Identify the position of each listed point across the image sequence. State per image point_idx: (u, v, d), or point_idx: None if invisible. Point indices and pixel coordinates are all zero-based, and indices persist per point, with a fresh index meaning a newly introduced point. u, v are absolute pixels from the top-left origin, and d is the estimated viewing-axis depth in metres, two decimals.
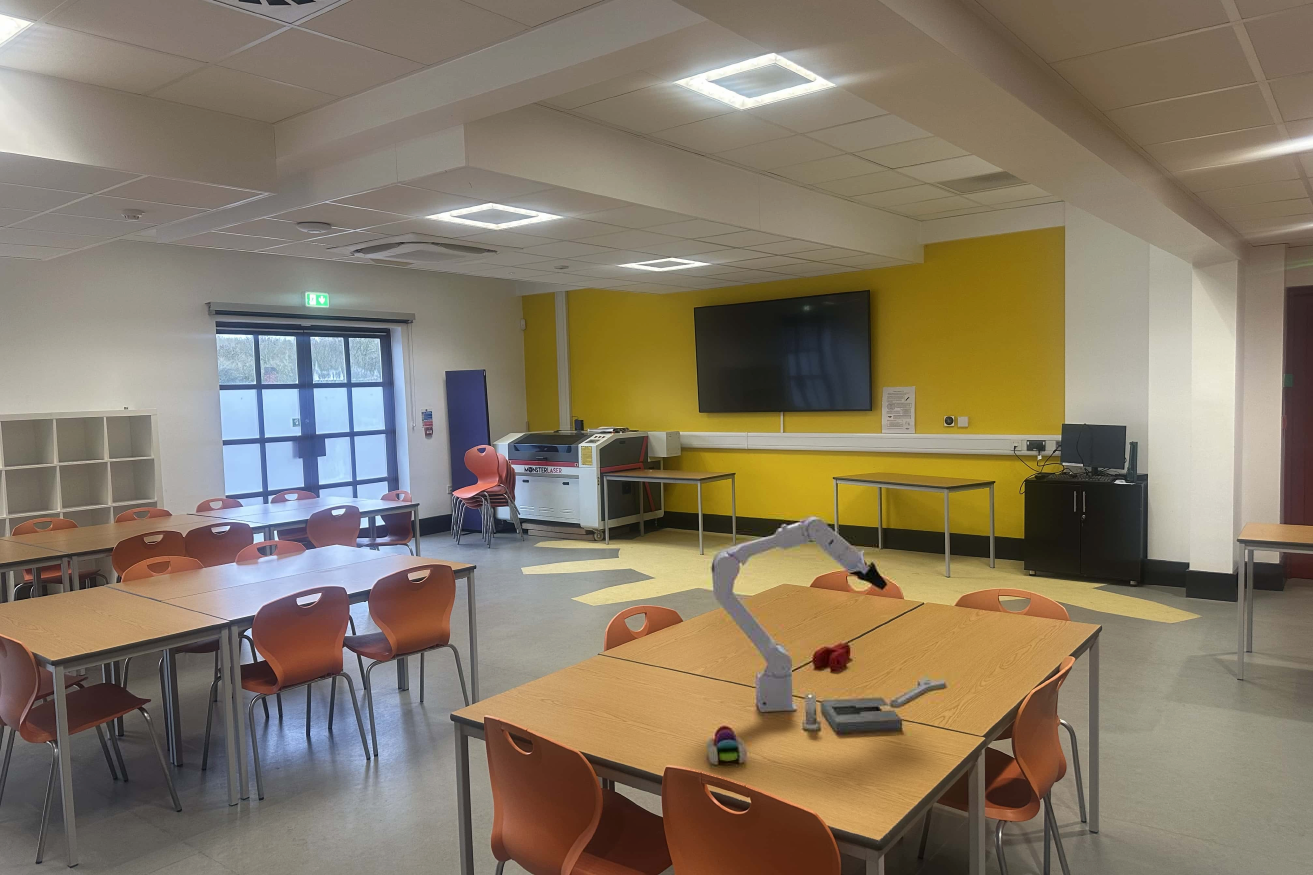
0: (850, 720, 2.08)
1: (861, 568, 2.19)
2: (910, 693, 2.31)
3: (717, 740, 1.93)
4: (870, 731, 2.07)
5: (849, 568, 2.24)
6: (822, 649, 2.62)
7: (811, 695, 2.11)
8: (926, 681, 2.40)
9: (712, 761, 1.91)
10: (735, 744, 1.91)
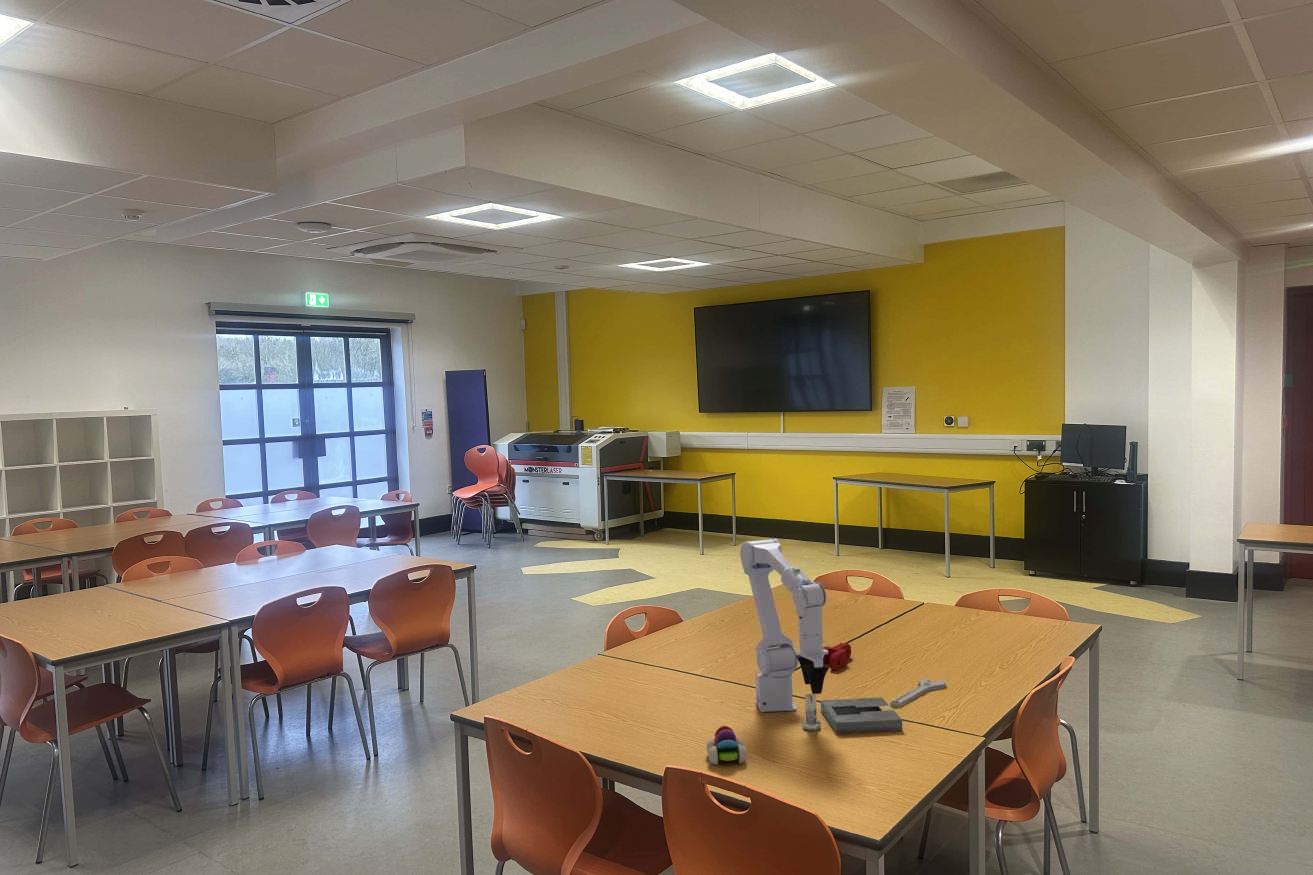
0: (850, 720, 2.08)
1: (816, 660, 2.04)
2: (911, 694, 2.31)
3: (717, 740, 1.93)
4: (870, 731, 2.07)
5: (804, 652, 2.09)
6: (823, 649, 2.62)
7: (811, 695, 2.11)
8: (926, 681, 2.39)
9: (712, 761, 1.91)
10: (735, 744, 1.91)
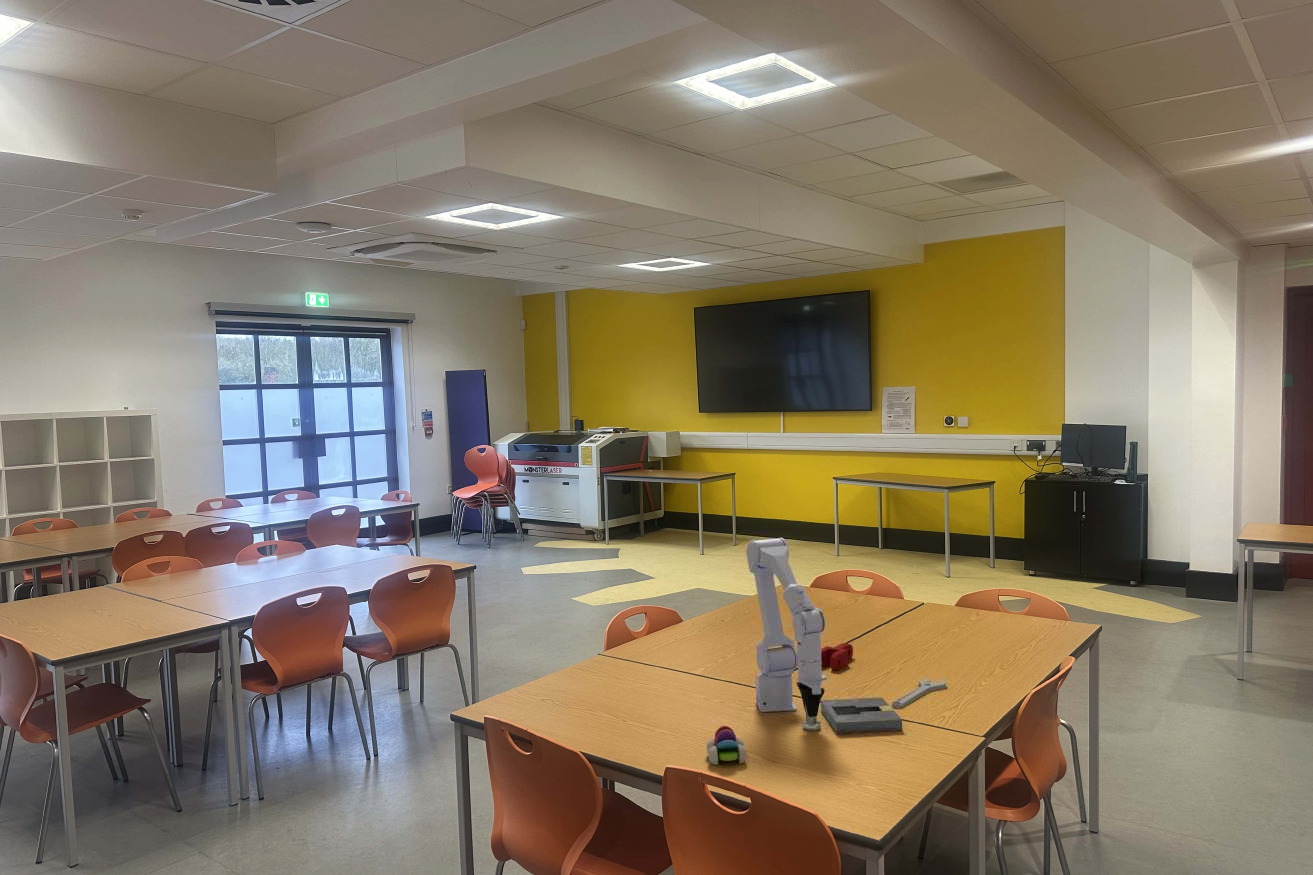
0: (850, 720, 2.08)
1: (815, 688, 2.04)
2: (911, 694, 2.30)
3: (717, 740, 1.93)
4: (870, 731, 2.07)
5: (802, 678, 2.09)
6: (824, 649, 2.62)
7: None
8: (927, 682, 2.39)
9: (712, 761, 1.91)
10: (735, 744, 1.91)
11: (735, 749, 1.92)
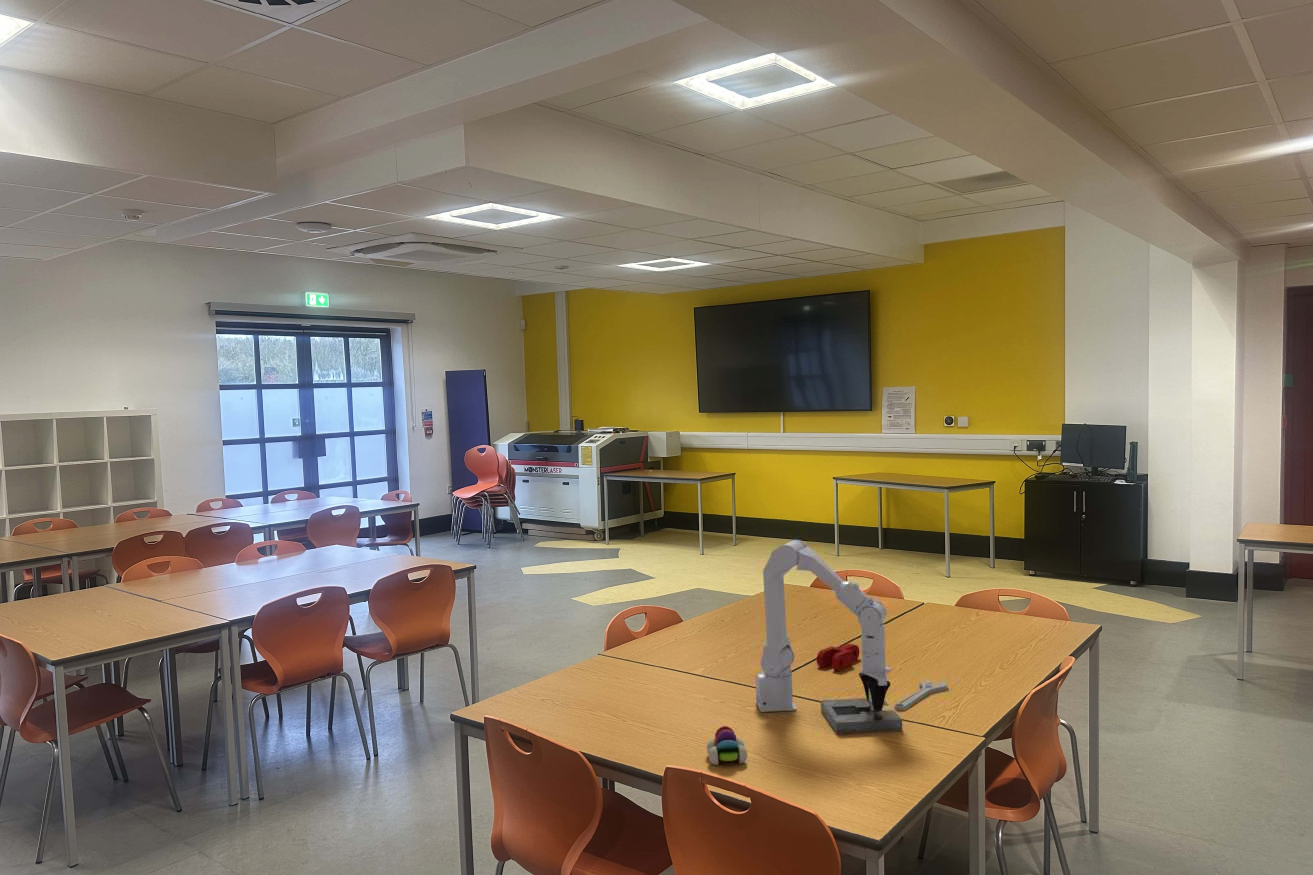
0: (850, 720, 2.08)
1: (881, 679, 2.08)
2: (914, 696, 2.29)
3: (717, 740, 1.93)
4: (870, 731, 2.07)
5: (867, 669, 2.13)
6: (827, 649, 2.62)
7: None
8: (928, 684, 2.37)
9: (712, 761, 1.90)
10: (735, 744, 1.91)
11: (735, 749, 1.92)
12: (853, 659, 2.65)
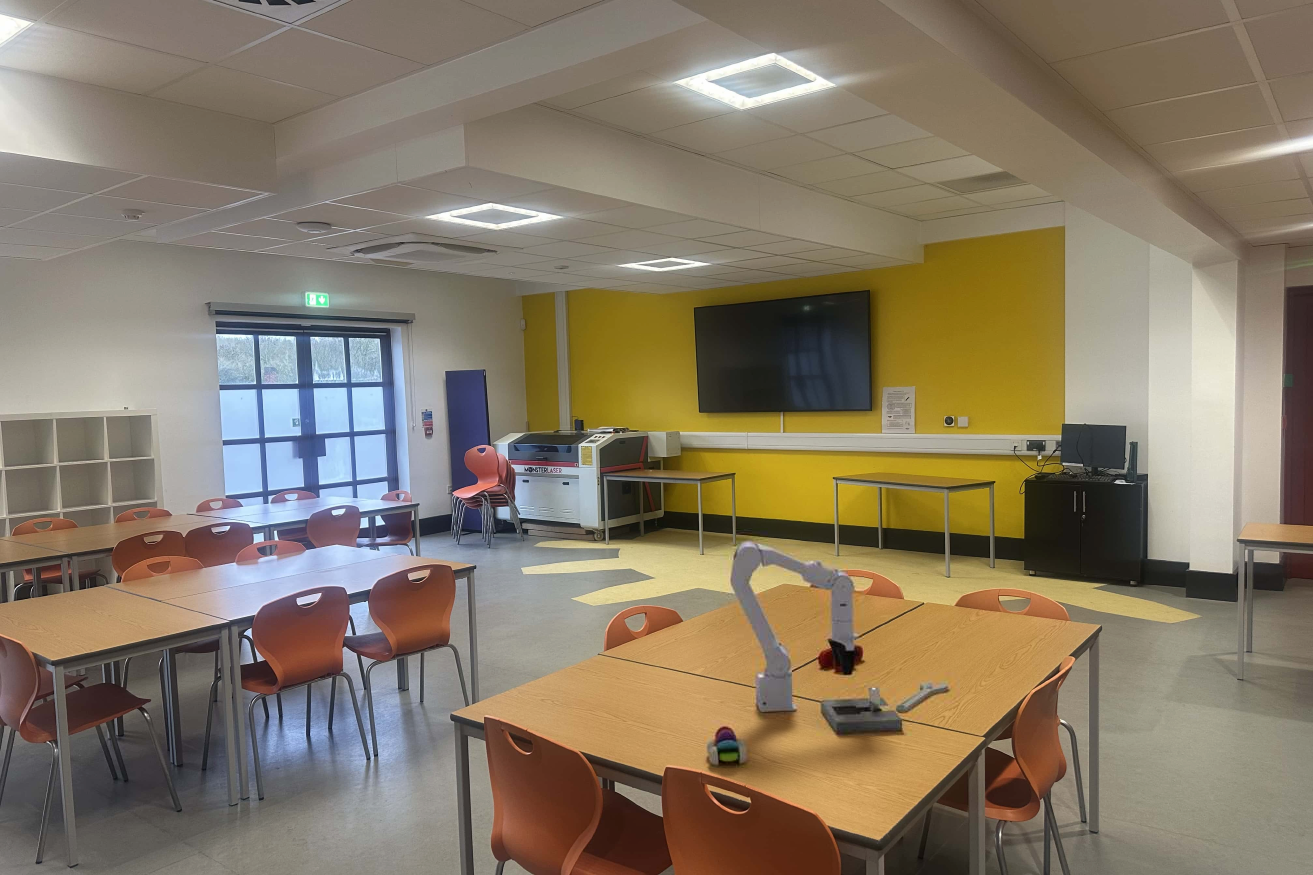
0: (850, 720, 2.08)
1: (848, 644, 2.18)
2: (915, 697, 2.28)
3: (717, 740, 1.93)
4: (870, 731, 2.07)
5: (836, 636, 2.23)
6: (830, 649, 2.61)
7: (875, 688, 2.15)
8: (928, 685, 2.37)
9: (712, 761, 1.90)
10: (735, 744, 1.91)
11: (735, 749, 1.92)
12: (856, 660, 2.64)
